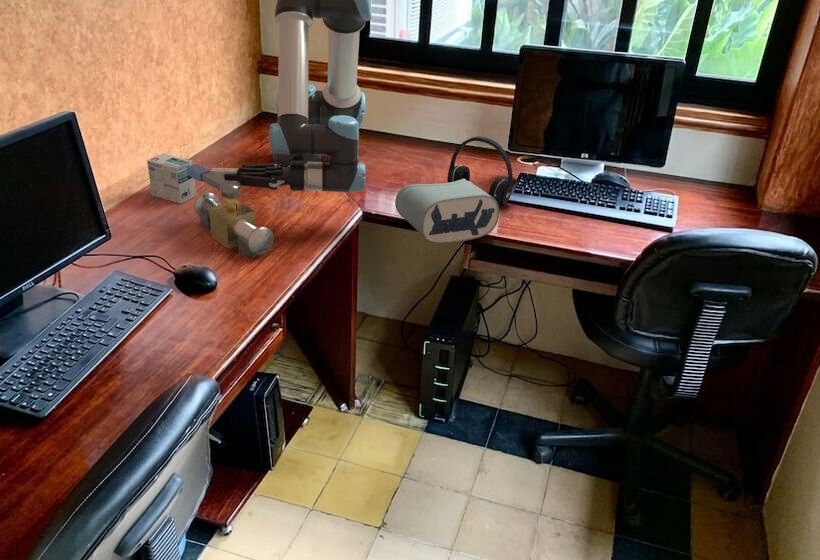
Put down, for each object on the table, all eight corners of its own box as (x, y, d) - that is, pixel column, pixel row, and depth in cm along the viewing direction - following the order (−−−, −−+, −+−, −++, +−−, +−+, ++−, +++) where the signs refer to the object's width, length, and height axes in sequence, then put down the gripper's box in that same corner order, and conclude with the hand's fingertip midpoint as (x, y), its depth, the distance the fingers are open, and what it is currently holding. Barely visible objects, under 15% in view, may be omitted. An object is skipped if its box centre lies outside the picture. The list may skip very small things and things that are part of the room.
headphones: (513, 203, 215) (521, 144, 206) (501, 211, 210) (509, 150, 201) (455, 184, 224) (461, 127, 215) (443, 191, 219) (448, 132, 210)
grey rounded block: (421, 249, 186) (423, 202, 180) (392, 221, 202) (394, 176, 196) (496, 237, 195) (501, 192, 189) (464, 211, 210) (467, 168, 204)
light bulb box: (197, 196, 206) (193, 160, 200) (181, 204, 201) (177, 167, 195) (167, 187, 209) (162, 152, 204) (150, 196, 204) (145, 159, 199)
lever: (244, 194, 180) (244, 185, 178) (228, 199, 177) (227, 190, 175) (200, 171, 190) (199, 162, 189) (184, 175, 187) (183, 167, 186)
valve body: (193, 224, 191) (189, 181, 185) (220, 216, 196) (217, 174, 190) (248, 262, 175) (246, 217, 169) (276, 253, 180) (274, 208, 174)
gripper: (304, 200, 185) (208, 198, 182) (306, 179, 197) (216, 177, 194) (304, 172, 181) (206, 170, 179) (306, 153, 193) (214, 150, 190)
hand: (211, 174), depth 186 cm, fingers closed
